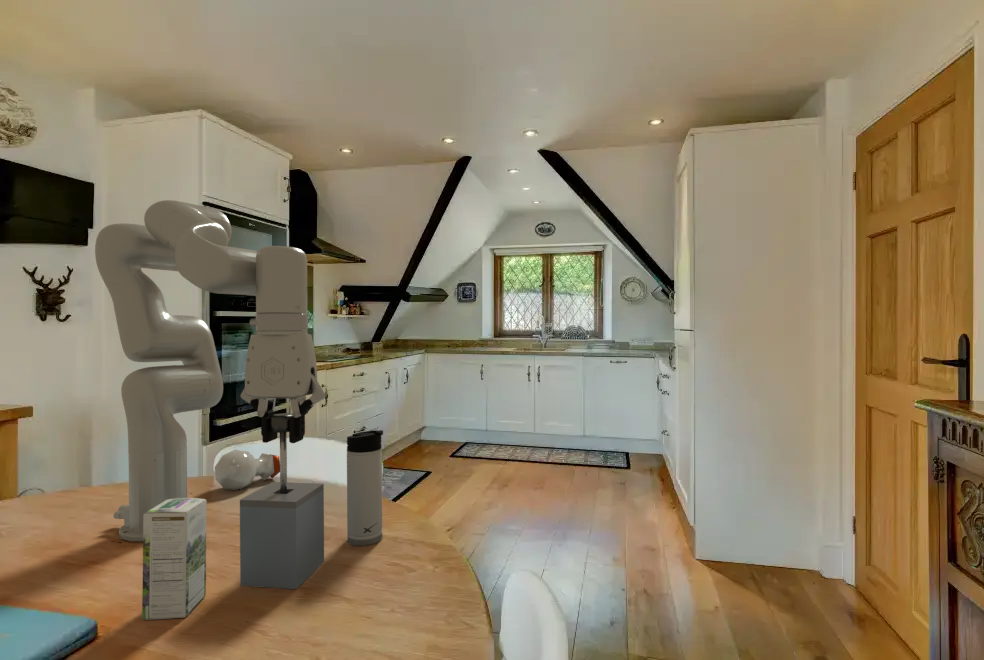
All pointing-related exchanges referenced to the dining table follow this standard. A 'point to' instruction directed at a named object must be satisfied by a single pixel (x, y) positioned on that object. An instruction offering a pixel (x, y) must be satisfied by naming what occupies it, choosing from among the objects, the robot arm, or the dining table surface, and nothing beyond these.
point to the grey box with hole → (281, 535)
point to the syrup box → (174, 558)
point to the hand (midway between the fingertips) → (283, 439)
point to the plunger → (281, 444)
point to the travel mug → (364, 488)
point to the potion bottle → (244, 469)
